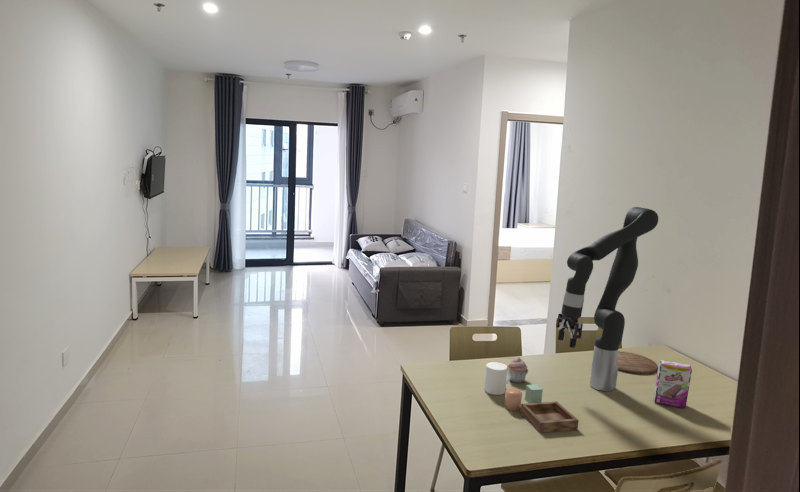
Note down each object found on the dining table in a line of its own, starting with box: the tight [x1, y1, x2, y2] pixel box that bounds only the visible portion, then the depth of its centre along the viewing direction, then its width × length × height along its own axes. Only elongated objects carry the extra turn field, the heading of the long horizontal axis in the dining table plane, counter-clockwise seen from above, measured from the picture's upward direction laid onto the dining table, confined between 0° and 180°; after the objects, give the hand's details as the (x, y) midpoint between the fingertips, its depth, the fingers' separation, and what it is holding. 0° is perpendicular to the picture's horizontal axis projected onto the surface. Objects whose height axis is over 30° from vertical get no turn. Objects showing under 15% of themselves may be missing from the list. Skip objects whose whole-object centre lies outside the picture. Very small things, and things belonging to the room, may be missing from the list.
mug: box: [483, 361, 511, 396], centre depth 216 cm, size 8×10×12 cm
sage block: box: [524, 383, 543, 403], centre depth 207 cm, size 4×4×6 cm
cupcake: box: [506, 356, 529, 384], centre depth 227 cm, size 9×9×10 cm
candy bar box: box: [653, 359, 693, 409], centre depth 211 cm, size 11×5×16 cm, turn 71°
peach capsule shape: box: [503, 388, 523, 412], centre depth 202 cm, size 6×6×6 cm
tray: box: [519, 401, 580, 434], centre depth 192 cm, size 14×14×4 cm
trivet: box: [616, 350, 658, 375], centre depth 253 cm, size 25×25×2 cm
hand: (566, 343), depth 216 cm, fingers open, 8 cm apart
